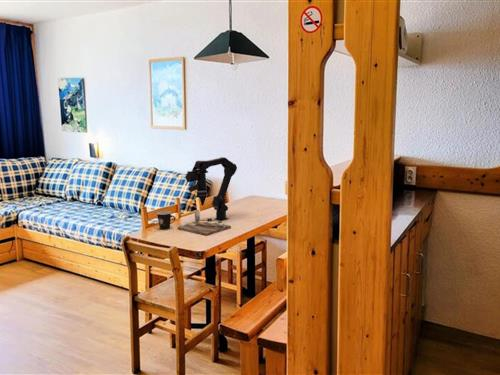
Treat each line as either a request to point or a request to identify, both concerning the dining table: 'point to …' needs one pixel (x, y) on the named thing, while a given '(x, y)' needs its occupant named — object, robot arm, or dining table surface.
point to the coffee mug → (164, 220)
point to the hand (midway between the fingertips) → (202, 203)
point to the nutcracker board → (203, 228)
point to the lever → (197, 219)
